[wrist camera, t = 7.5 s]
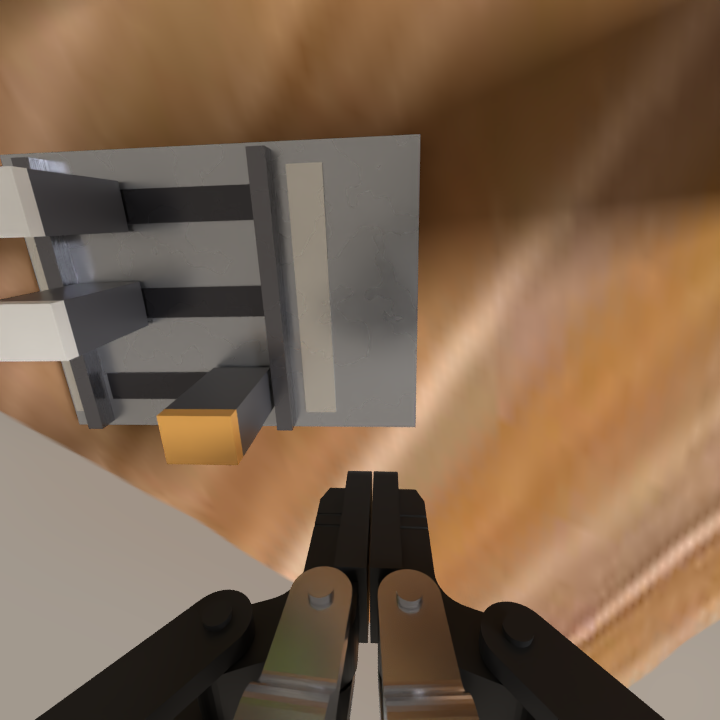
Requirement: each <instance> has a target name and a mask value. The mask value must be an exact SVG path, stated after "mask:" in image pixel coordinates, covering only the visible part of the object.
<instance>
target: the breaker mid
mask: <svg viewBox="0 0 720 720" xmlns="http://www.w3.org/2000/svg"><path fill="white" fill-rule="evenodd" d="M148 325H149V324H148V319H147V315H146V310H145V305H144V301H143V296H142V291H141V287H140V282H139V281H138V282H92V283H78V284H73V285H68V286H63V287H59V288H54V289H49V290H44V291H39V292H34V293H30V294H25V295H20V296H15V297H10V298H6V299H1V300H0V361H69V360H71V359H73V358H76V357H78V356H80V355H82V354H85V353H87V352H89V351H91V350H94V349H96V348H98V347H101V346H103V345H105V344H107V343H110V342H112V341H114V340H116V339H119V338H121V337H123V336H125V335H128V334H130V333H132V332H135V331H137V330H139V329H141V328H144V327H146V326H148Z"/></svg>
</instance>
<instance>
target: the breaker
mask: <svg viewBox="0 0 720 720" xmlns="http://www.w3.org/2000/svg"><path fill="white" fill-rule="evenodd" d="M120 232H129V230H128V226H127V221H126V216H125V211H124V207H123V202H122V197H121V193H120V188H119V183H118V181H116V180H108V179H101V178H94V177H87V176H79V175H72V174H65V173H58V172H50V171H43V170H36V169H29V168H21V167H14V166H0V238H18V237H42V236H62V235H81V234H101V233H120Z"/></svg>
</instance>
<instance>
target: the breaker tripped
mask: <svg viewBox="0 0 720 720" xmlns="http://www.w3.org/2000/svg"><path fill="white" fill-rule="evenodd" d="M274 406H275V405H274V397H273V388H272V379H271V370H270V367H234V368H213V369H211V370H210V371H209V372H208V373H207V374H206V375H204V376H203V377H202V378H201V379H200V380H198V381H197V382H196V383H195V384H194V385H192V386H191V387H190V388H189V389H188V390H187V391H185V392H184V393H183V394H182V395H181V396H179V397H178V398H177V399H176V400H175V401H173V402H172V403H171V404H170V405H169V406H168V407H166V408H165V409H164V410H163V411H162V412H160V413H159V414H158V415H157V416H156V417H157V421H158V426H159V430H160V435H161V439H162V443H163V448H164V452H165V457H166V461H167V464H203V465H238V464H239V463H240V461H241V460H242V458H243V456H244V455H245V453H246V452H247V450H248V448H249V447H250V445H251V444H252V442H253V440H254V439H255V437H256V435H257V434H258V432H259V431H260V429H261V427H262V426H263V424H264V423H265V421H266V419H267V418H268V416H269V414H270V413H271V411H272V410H273V408H274Z"/></svg>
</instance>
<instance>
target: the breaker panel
mask: <svg viewBox="0 0 720 720" xmlns="http://www.w3.org/2000/svg"><path fill="white" fill-rule="evenodd" d="M0 158H1V161H2V165H3V166H14V167H21V168H29V169H36V170H43V171H50V172H58V173H65V174H72V175H79V176H87V177H94V178H101V179H108V180H116V181H118V183H119V188H120V193H121V197H122V202H123V207H124V211H125V216H126V221H127V226H128V230H129V232H120V233H101V234H81V235H62V236H42V237H24V239H25V242H26V245H27V249H28V252H29V256H30V259H31V262H32V266H33V269H34V272H35V276H36V279H37V282H38V286H39V289H40V291H44V290H49V289H54V288H59V287H63V286H68V285H73V284H78V283H92V282H138V281H139V282H140V287H141V291H142V296H143V301H144V305H145V310H146V315H147V319H148V324H149V325H148V326H146V327H144V328H141V329H139V330H137V331H135V332H132V333H130V334H128V335H125V336H123V337H121V338H119V339H116V340H114V341H112V342H110V343H107V344H105V345H103V346H101V347H98V348H96V349H94V350H91V351H89V352H87V353H85V354H82V355H80V356H78V357H76V358H73V359H71V360H69V361H61V363H62V367H63V370H64V373H65V377H66V380H67V383H68V387H69V390H70V393H71V397H72V400H73V404H74V407H75V410H76V414H77V417H78V420H79V424H88V427H89V429H103V428H105V427H106V426H107V425H158V421H157V417H156V416H157V415H158V414H159V413H160V412H162V411H163V410H164V409H165V408H166V407H168V406H169V405H170V404H171V403H172V402H173V401H175V400H176V399H177V398H178V397H179V396H181V395H182V394H183V393H184V392H185V391H187V390H188V389H189V388H190V387H191V386H192V385H194V384H195V383H196V382H197V381H198V380H200V379H201V378H202V377H203V376H204V375H206V374H207V373H208V372H209V371H210V370H211V369H213V368H234V367H270V370H271V379H272V388H273V397H274V405H275V406H274V408H273V410H272V411H271V413H270V414H269V416H268V418H267V419H266V421H265V423H264V424H263V426H277V430H293V428H294V426H344V427H415V423H416V363H417V304H418V245H419V185H420V134H414V135H393V136H373V137H353V138H333V139H312V140H292V141H272V142H252V143H232V144H211V145H191V146H171V147H151V148H130V149H110V150H90V151H70V152H49V153H29V154H9V155H0Z"/></svg>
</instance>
